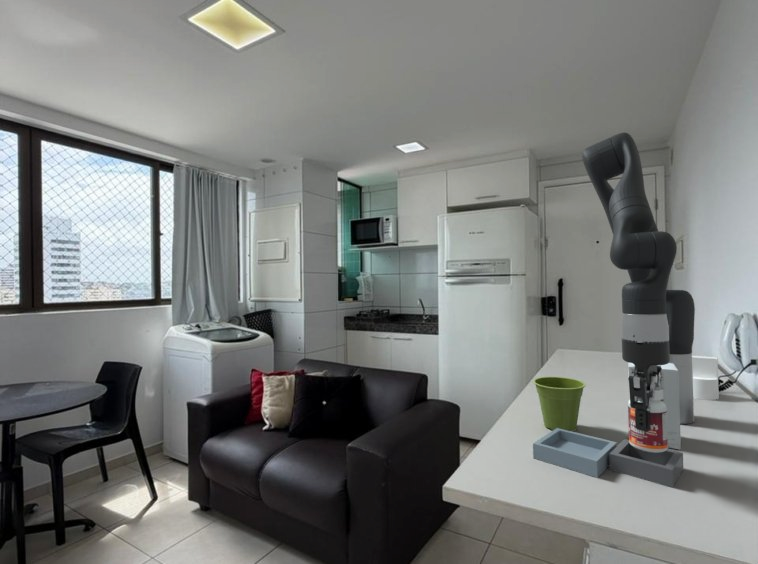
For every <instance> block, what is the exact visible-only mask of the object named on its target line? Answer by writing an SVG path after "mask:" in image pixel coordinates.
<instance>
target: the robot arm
mask: <svg viewBox="0 0 758 564" xmlns="http://www.w3.org/2000/svg"><path fill="white" fill-rule="evenodd" d="M581 155H582V156H581V158H582V163H583V165H584V169H585V170H586V173H587V175H588V178H589V180H590V181H591V184H592V186H593V189H594V190H595V193H596V195H597V197H598V198H599V201H600V203H601V205H602V207H603V210H604V212H605V215H606V218H607V221H608V224H609V226H610V229H611V233H612V235H613V236H612V241H611V246H610V248H609V249H610V251H609V259H610V262H611V263H612V265H614V266H615V268H617V269H619V270H624V271H627V272H628V276H629V279H630V282H628V283H626V284H624V285H623V286H622V288H621V312H622V316H621V324H620V327H621V354H622V355H621V356H622V357H621V358H622V360H623V361H624V362H626V363H628V362H629V363H633V364H634V365H635V367H634V372H632V374H631V376H629V378H628V377H627V378H628V380H629V381H628V392H629V391H630V406H631V408H634V409H635V425H636V429H638V430H641V431H646V432H648V431H649V430H650V410H651V407H650V404H651V400H652V399H654V395H655V385H656V387H661V370H662V368H661V366H657V365H666V364H668V363H673V364H674V365H675V367H676V368H677V369H678V371H679V402H680V425H681V424H684V425H685V424H692V423H693V422H694V421H695V415H694V414H695V413H694V412H695V411H694V408H695V407H694V398H693V368H692V356H693V344H694V339H695V331H694V330H695V314H696V313H695V310H696V308H695V301H694V298H693V295H692V294H691V293H690V292H688V291H687V290H685V289H684V290H683V289H668V283H669V278H670V275H671V272H672V269H673V266H674V262H675V259H676V255H677V249H678V248H677V242H676V240H675V238H674V237H673V235H671V233H669V232H667V231H659V228H658V227H657V223H656V221H655V218H654V214H653V212H652V209H651V206H650V203H649V200H648V198H647V194H646V189H645V181H644V174H643V168H642V161H641V157H640V152H639V150H638V147H637V143H636V142H635V140H634V138H633V136H632V135H630V133H628V132H620V133H617V134H614V135H613V136H610V137H607V138H606V139H603V140H601V141H598V142H596V143H594V144H592V145H590V146H588V147H586V148H584V149H583V151H582V153H581ZM619 176H621V178H620V179H619V181H618V183H617V184H616V186H615V188H613V187H612V185H611V183H609V182H608V180H610V179H613V178H615V177H619ZM647 391H650V392H649V393H647ZM640 397H641V398H642V399H643V403H641V402H638V398H640Z"/></svg>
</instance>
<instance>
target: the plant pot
mask: <svg viewBox="0 0 758 564" xmlns="http://www.w3.org/2000/svg"><path fill="white" fill-rule="evenodd" d="M532 382H533V384H534V385H535V388H536V392H537V394H538V399H539V404H540V409H541V410H540V411H541V415H542V420H543V426H544V427H545V428H546V429H547V428H548V429H550V430H551V431H553V430H555V429H556V428H559V429H563V430H567V431H572V432H576V430H577V427H578V418H579V413H580V407H581V401H582V400H581V399H582V396H583V392H584V388H585V387H586V386H587V384H586V383H585V382H584V381H582V380H579V379H575V378H573V377H572V378H571V377H564V376H541V377H540V376H539V377H536V378H535V379H533V380H532Z"/></svg>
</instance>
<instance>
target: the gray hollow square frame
mask: <svg viewBox="0 0 758 564" xmlns="http://www.w3.org/2000/svg"><path fill="white" fill-rule="evenodd" d="M609 460H610V465H609V470H611V471H614V472H618V473H621V474H625V475H627V476H632V477H634V478H639V479H641V480H644V481H648V482H653V483H656V484H660V485H662V486H665V487H669V488H674V486H675V484H676V482H677V481H678V479H679V477H680V476H681V474H682V472H683V470H684V452H680V451H679V450H672V449H670V448H667V450H666V451H664V452H660V453H653V452H647V451H643V450H639V449H637V448H635V447H633V446H632V445H630V443H629V439H625V438H624V439H623V440H621V442H619V444H617V447H616V448H615V449H614V450H613V451H612V452H611V453H610V454H609Z"/></svg>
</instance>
